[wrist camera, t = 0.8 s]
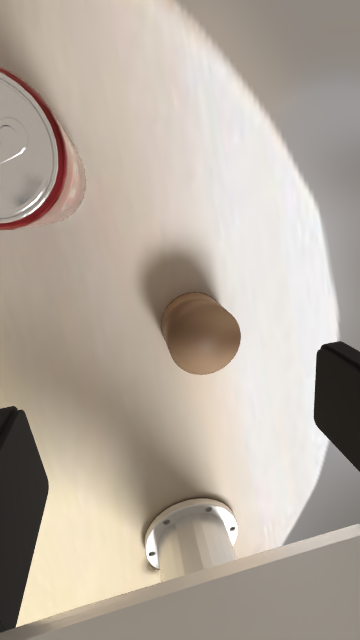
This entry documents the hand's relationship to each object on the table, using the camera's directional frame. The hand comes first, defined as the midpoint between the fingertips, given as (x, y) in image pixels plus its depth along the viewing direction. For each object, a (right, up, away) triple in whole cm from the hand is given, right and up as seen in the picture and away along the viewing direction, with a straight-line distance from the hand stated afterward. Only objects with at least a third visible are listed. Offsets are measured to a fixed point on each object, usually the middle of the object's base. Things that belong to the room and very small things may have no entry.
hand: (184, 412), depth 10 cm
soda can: (-12, +15, +16) cm, 24 cm away
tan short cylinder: (+1, +3, +22) cm, 23 cm away
